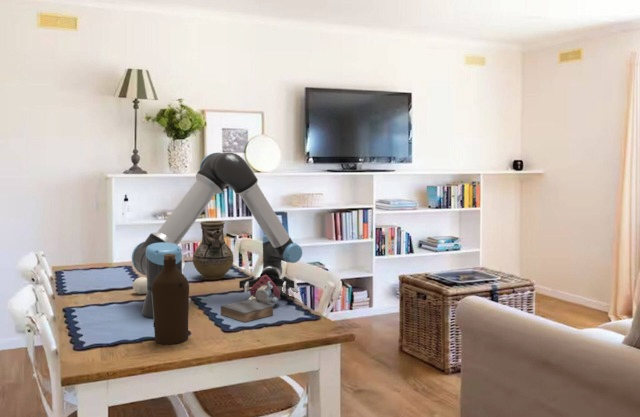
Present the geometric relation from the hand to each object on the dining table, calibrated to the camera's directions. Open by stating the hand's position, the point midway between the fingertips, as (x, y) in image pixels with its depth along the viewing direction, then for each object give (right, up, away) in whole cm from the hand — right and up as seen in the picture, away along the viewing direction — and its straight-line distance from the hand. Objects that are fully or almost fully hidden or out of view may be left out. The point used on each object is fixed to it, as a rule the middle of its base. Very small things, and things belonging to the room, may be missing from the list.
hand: (264, 289), depth 206 cm
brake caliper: (0, -7, +3) cm, 7 cm away
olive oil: (-24, -10, -37) cm, 45 cm away
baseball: (-50, -5, +21) cm, 55 cm away
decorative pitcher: (-28, -2, +52) cm, 59 cm away
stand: (-5, -7, -10) cm, 13 cm away
